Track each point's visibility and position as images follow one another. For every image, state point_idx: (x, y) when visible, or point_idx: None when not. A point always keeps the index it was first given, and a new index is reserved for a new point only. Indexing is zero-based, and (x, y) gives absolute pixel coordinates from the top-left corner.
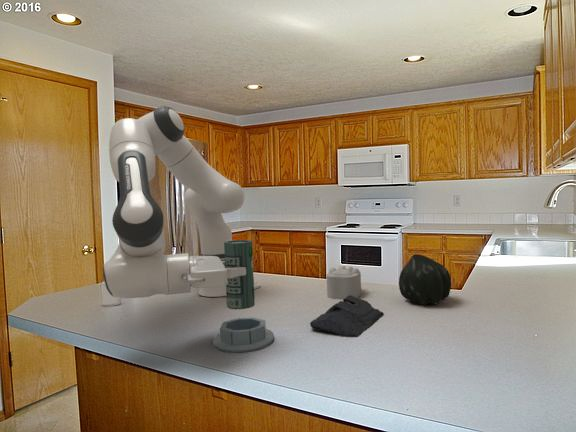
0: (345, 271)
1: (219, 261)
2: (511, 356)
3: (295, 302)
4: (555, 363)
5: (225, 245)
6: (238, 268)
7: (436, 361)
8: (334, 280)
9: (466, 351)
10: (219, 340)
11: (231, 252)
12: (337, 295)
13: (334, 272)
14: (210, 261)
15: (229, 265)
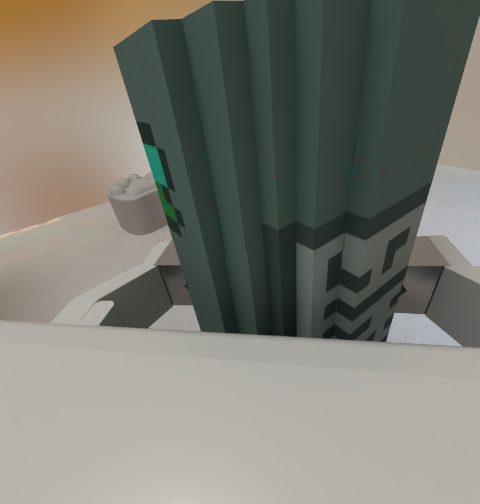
0: (150, 181)
1: (219, 351)
2: (444, 183)
3: (112, 273)
4: (463, 172)
5: (333, 51)
6: (469, 267)
7: (464, 219)
8: (144, 202)
9: (427, 197)
10: None
11: (421, 149)
12: (156, 224)
13: (135, 189)
14: (85, 495)
15: (370, 300)
